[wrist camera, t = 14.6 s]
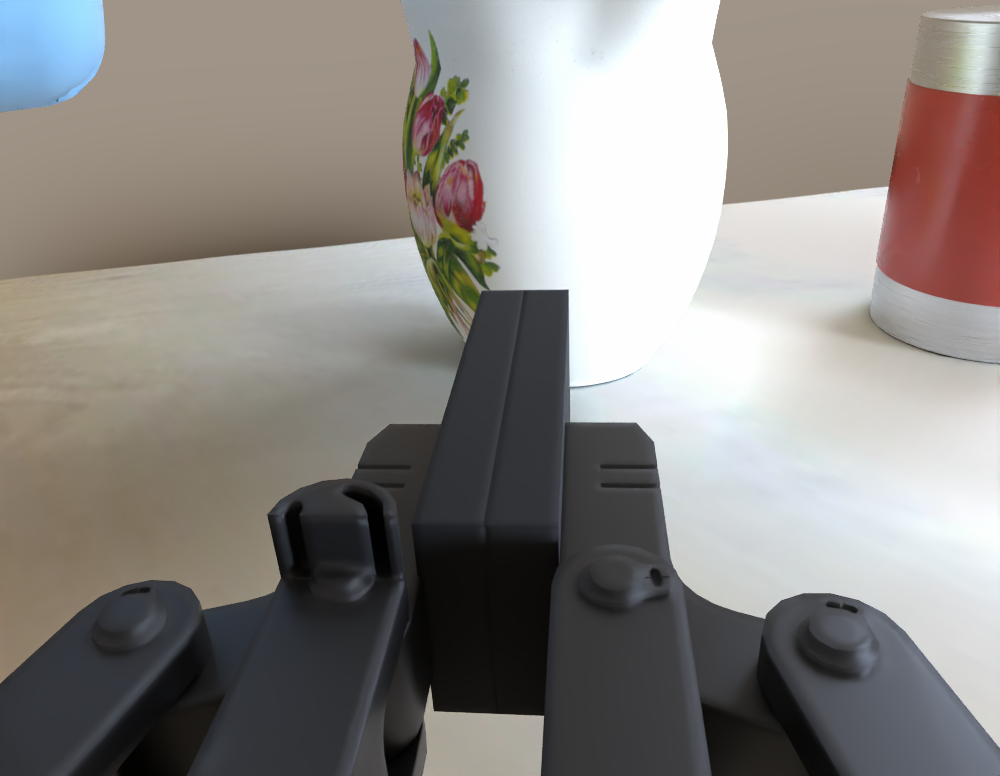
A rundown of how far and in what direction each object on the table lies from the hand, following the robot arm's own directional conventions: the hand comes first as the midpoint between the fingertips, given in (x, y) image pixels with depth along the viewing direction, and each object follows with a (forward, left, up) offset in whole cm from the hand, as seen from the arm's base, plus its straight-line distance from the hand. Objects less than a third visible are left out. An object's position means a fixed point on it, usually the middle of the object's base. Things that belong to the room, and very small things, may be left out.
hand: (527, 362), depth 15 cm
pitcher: (0, +17, -7) cm, 18 cm away
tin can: (+16, +18, -7) cm, 25 cm away
